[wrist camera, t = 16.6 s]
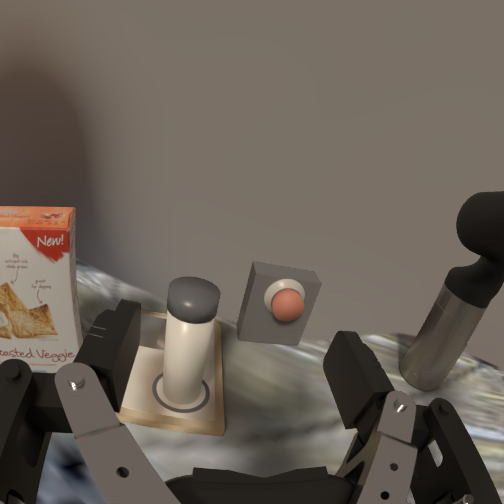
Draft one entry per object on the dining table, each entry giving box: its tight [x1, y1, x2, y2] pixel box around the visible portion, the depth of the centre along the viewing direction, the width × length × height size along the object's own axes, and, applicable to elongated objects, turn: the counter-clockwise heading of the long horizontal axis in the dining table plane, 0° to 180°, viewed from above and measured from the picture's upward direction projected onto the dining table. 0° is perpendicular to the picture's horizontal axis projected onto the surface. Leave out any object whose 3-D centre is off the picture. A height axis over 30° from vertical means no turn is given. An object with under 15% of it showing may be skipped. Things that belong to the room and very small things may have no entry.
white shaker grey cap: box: [163, 277, 220, 405], centre depth 27 cm, size 5×5×14 cm
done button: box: [271, 288, 304, 321], centre depth 40 cm, size 4×2×4 cm, turn 96°
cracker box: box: [0, 206, 83, 373], centre depth 21 cm, size 14×6×21 cm, turn 118°
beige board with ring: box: [115, 309, 225, 436], centre depth 34 cm, size 14×20×2 cm
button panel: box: [237, 261, 322, 346], centre depth 44 cm, size 10×4×12 cm, turn 96°
